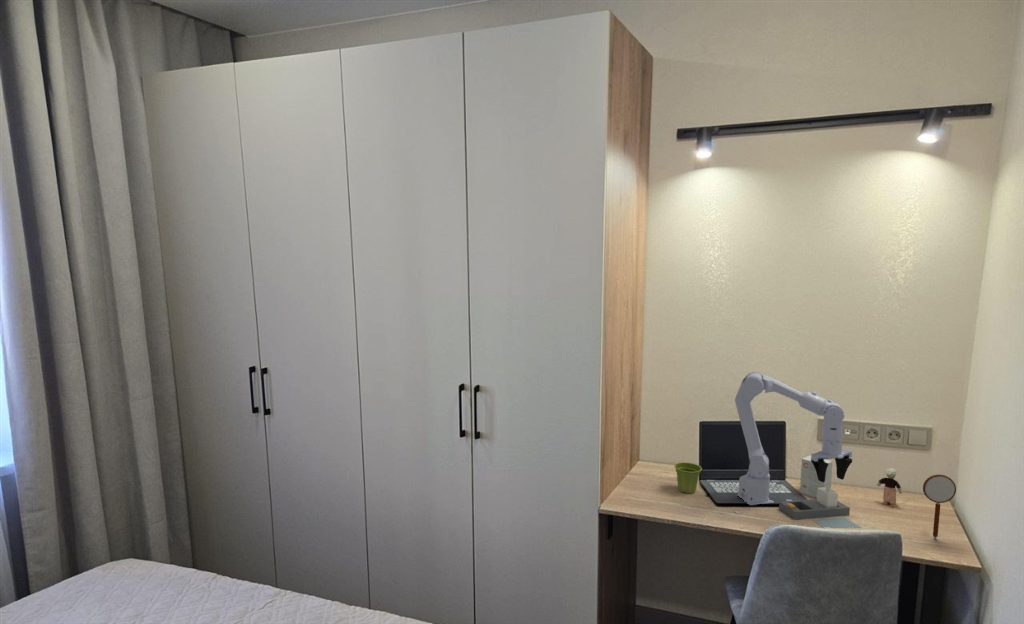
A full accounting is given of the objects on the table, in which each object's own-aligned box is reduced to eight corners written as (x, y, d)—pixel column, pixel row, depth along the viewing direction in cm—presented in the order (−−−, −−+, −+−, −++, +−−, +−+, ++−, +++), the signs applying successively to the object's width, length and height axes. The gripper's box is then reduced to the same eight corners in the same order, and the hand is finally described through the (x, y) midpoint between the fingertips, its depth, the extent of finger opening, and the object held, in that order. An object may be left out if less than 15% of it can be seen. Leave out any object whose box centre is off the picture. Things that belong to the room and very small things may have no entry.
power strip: (794, 522, 188) (795, 510, 187) (778, 511, 195) (779, 500, 195) (849, 518, 192) (849, 505, 191) (831, 507, 199) (831, 496, 199)
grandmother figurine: (902, 505, 201) (905, 469, 199) (900, 509, 198) (903, 472, 197) (876, 499, 206) (879, 464, 205) (874, 502, 203) (876, 466, 202)
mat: (834, 536, 178) (834, 534, 178) (811, 521, 188) (811, 519, 187) (868, 532, 180) (868, 531, 180) (843, 518, 190) (843, 517, 190)
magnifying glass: (920, 538, 177) (925, 474, 175) (917, 536, 179) (923, 472, 177) (952, 542, 175) (958, 477, 173) (949, 539, 177) (955, 475, 175)
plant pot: (706, 494, 208) (707, 470, 207) (682, 496, 205) (683, 472, 204) (690, 484, 217) (692, 461, 216) (668, 486, 214) (669, 463, 213)
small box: (830, 496, 207) (833, 461, 206) (822, 501, 203) (825, 464, 202) (807, 489, 214) (809, 454, 212) (799, 493, 210) (801, 458, 208)
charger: (827, 514, 192) (828, 490, 191) (816, 508, 196) (817, 484, 196) (836, 513, 192) (838, 489, 192) (825, 507, 197) (827, 483, 196)
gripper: (823, 445, 187) (822, 486, 188) (860, 440, 191) (858, 481, 192) (806, 438, 194) (805, 478, 195) (842, 434, 197) (841, 474, 199)
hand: (830, 479), depth 194 cm, fingers open, 7 cm apart
